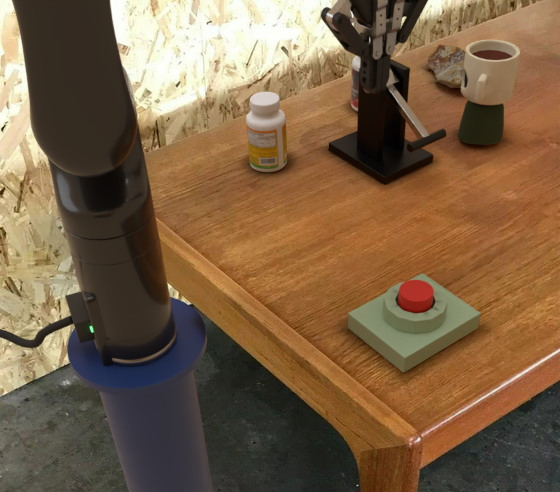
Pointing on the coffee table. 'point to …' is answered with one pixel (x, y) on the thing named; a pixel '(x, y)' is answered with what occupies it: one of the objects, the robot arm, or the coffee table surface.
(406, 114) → the switch lever
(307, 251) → the coffee table surface
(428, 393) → the coffee table surface
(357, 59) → the pill bottle
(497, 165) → the coffee table surface
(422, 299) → the button
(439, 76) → the decorative stone
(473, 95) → the character mug
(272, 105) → the supplement bottle
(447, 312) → the button block
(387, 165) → the switch bracket
